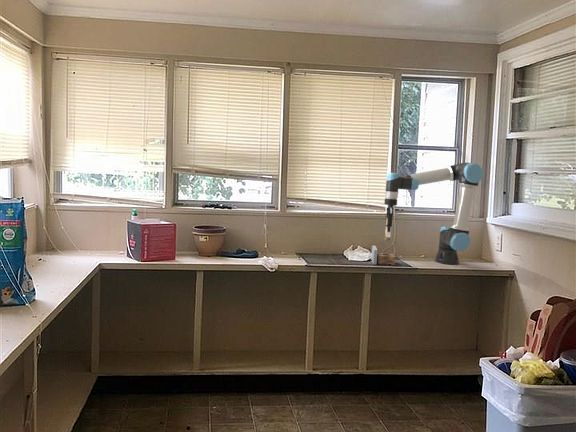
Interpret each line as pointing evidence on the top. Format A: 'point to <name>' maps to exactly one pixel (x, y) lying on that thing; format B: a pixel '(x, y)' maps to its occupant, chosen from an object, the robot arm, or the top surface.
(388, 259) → the block
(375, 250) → the backstop
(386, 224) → the dowel
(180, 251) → the top surface
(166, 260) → the top surface
